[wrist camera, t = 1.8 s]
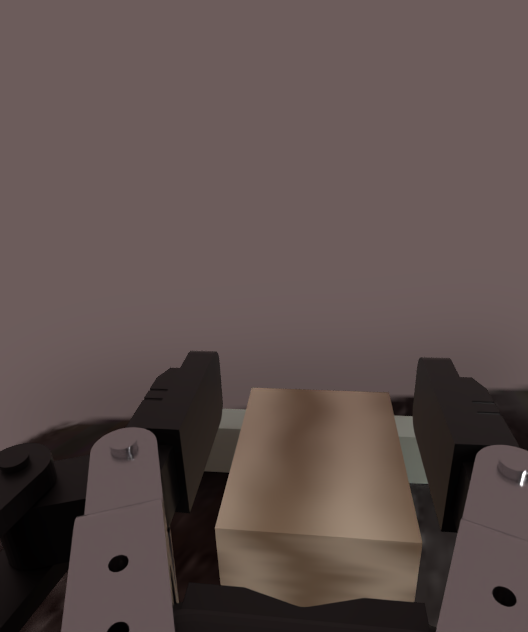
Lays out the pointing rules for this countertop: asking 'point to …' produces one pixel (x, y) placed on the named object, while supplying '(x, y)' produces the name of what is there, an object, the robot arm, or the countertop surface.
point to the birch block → (319, 500)
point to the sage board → (231, 429)
